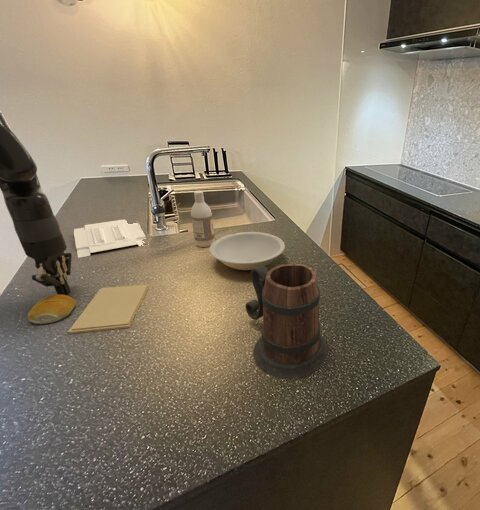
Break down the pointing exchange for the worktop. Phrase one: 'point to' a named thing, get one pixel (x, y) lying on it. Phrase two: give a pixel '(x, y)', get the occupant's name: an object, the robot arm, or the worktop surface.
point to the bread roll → (51, 309)
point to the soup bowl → (247, 249)
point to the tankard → (287, 320)
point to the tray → (107, 236)
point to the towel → (111, 309)
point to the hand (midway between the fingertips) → (64, 294)
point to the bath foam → (202, 221)
